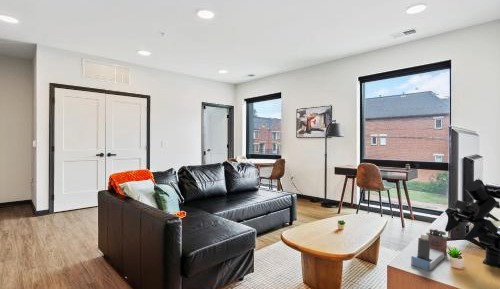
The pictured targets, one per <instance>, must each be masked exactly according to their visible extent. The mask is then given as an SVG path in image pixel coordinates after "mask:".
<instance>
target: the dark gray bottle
mask: <svg viewBox="0 0 500 289" xmlns="http://www.w3.org/2000/svg"><path fill="white" fill-rule="evenodd" d="M417 242H418V243H417V254H418V258H421V259H424V260H427V261H429V256H430V240H429V239H428V235H427V234H426V233H420V237H418V241H417Z"/></svg>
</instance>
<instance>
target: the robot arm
mask: <svg viewBox="0 0 500 289" xmlns="http://www.w3.org/2000/svg"><path fill="white" fill-rule="evenodd" d="M464 191H465V192H467V194H468V195H469V196H470V198H472V200H474V202H472V201H471V202H466V201H462V200H459V199H457V200H456V202H455V203H454V206H453V208H452V207H447V208H446V210H445V211H444V213H445V215H446V216H447V218H448V219H447V222H446V224H445V229H444V232H445V233H447V232H450V231H452V230H453V229H454V228H455V229H456V227H459V225H461V223H462V222H467V223H470V224H472V225H473V226H472V228H471V229H470V231H469V232H468V233H467V234H466V235H465V237H464V240H465V241H469V240H473V239H476V238H478V241H479V246H482V247H484V248H485V258H484V260H482V263H483V264H486V265H489V266H492V267H496V268H500V225H499V226H496V224H494V223H493V222H492V221H491V220H490V219H488V218H490V217H491V216H490V215H489V214H490V213H491V212H492V211H493V209H495V208H496V209H499V210H500V201H498V200H500V184H498V183H490V182H487V183H485V184H484V182H483V180H482V179H477V178H476V179H475V180H472V181H469V182H468V183H465V185H464ZM496 199H498V200H496ZM455 208H456V209H455ZM457 209H458V210H457ZM459 210H460V211H459Z"/></svg>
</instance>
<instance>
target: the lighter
mask: <svg viewBox="0 0 500 289" xmlns="http://www.w3.org/2000/svg"><path fill="white" fill-rule="evenodd" d="M446 233H447V232H446V231H443V230H438V229H437V228H436V229H433V228H429V232H426V233H425V234H427V235H428V239H429V240H430V248H431V249H434V250H437V251H441V252H444V256H447V255H448V253H447V252H448V251H447V244H448V237H447V236H446V235H447V234H446Z"/></svg>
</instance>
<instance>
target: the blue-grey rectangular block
mask: <svg viewBox="0 0 500 289" xmlns="http://www.w3.org/2000/svg"><path fill="white" fill-rule="evenodd" d="M444 259H445V255H444V252H441V251H437V250H434V249H431V248H430V256H429V261H427V260H424V259H421V258H418V253H417V254H415V255H411V260H410V261H411V262H410V265H411V266H414V267H418V268H420V269H423V270H424V271H428V272H429V271H432V269H434V268H435V267H436V265H438V264H439V263H440V262H441V261H443V260H444Z"/></svg>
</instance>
